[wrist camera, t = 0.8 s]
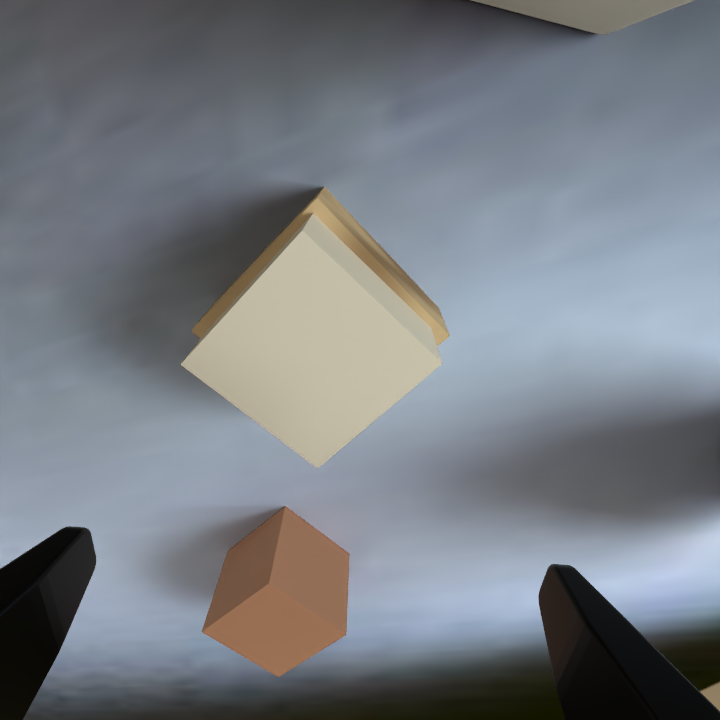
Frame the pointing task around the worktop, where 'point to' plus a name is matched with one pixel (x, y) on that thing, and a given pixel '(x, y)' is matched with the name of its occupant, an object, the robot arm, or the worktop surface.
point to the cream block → (315, 346)
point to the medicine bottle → (589, 11)
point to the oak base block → (359, 243)
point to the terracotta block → (281, 594)
